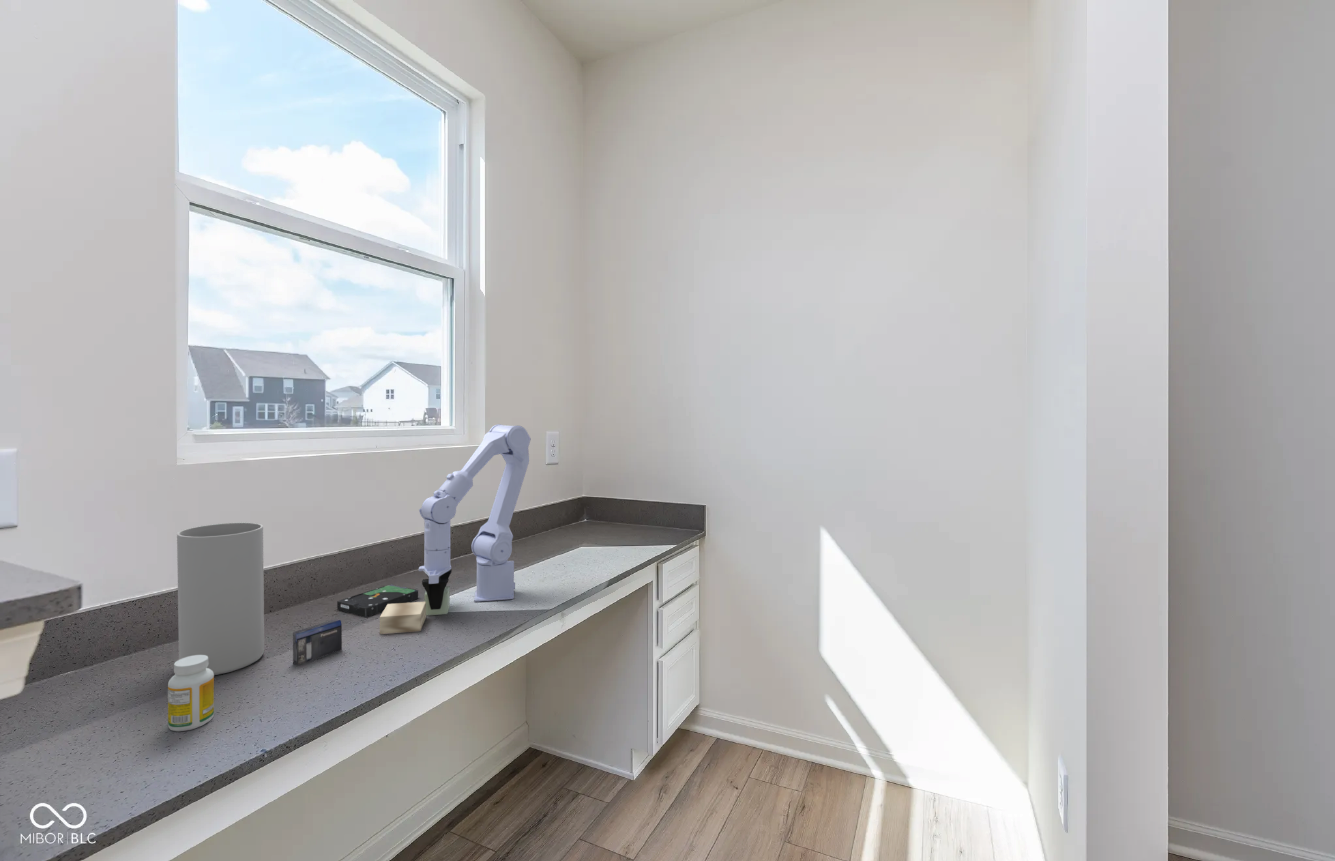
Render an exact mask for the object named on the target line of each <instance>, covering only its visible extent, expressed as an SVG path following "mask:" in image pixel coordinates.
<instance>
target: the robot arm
mask: <svg viewBox="0 0 1335 861" xmlns="http://www.w3.org/2000/svg"><path fill="white" fill-rule="evenodd" d="M530 443H531V436H530V435H529V433H528V430H527V429H526V428H525V427H523V426H521V425H507V424H506V425H505V424H500V423H498V424H495V425H493V426H492V427H491V428H490V429H489V431H487V432H486V433H485V434H484V436H483V439H482V441H481V443H480V444H479V445H478V447H477V448H476V449H475V451H474V452H473V454H472V455H471V456H470V458H469V459H468V461H467V462H466V463H465V464H464V465H463V467H462V468H461V470H454V471H453V472H452V473H448V474H447V475H446V477H445V478H446V479H445V481H444V482H443V483H442V484H441V485H440V486H439V488H438V489H437V490H434V492H433V493H432V494H433V496H432V495H431V496H430V497H427V498H425V500H424V501H423V502H422V504H421V507H420V508H419V509H418V511H419V515H420V517H421V518H423V522H424V527H423V528H424V530H423V533H424V535H423V537H424V544H423V546H424V548H423V550H424V553H423V554H424V556H423V557H424V560H423V561H424V564H423V565H421V566H419V567H418V572H424V573H425V574H426V576H427V578H423V579H422V581H421V586H423V588H424V589H425V592H427V595H428V600H429V605H430V608H431V610H435V609H440V608H441V605H442V600H443V594H444V590H445V587H446V586H447V585H448V583H449V581H450V580H449V577H450V575H451V574H452V571H453V569H452V565H451V520H452V519H453V518H455V516H456V513H457V507H458V505H459V503H460V502H461V501H462V500H463V499H464V497H466V495H467V494H468V492H469V491H470V490H471V489H472V487H473V486H474V482H473V481H474V478H475V477H476V476H477V475H478V473H479V472H481V470H482V469H483V468H484V467H485V466H486V465H487V464H488V462H490V461H491V460H492V459H493V457H494V456H496V455H501V456H502V458H503V460H504V462H505V467H504V470H503V473H502V475H501V479H500V483H499V484H498V488H497V491H496V494H495V498H494V502H493V504H492V507H491V510H490V513H489V518H488V520H487V521H486V522H485V523H484V524H482V525H481V526H480V528H479V530H478V532H477V534H476V535H475V537H474V538H473V540H472V542H471V546H470V547H471V552H472V553H473V555H474V556H475V560H476V590H475V593H474V597H473V601H474V603H475V602H490V601H504V600H505V601H506V600H513V599H514V598H515V596H514V595H515V594H514V592H515V590H516V582H515V561H514V560H509V558H510V557H511V554H512V551H513V544H512V541H513V538H514V535H513V533H512V531H511V528H510V525H511V521H512V519H513V516H514V511H515V509H516V505H517V501H518V498H519V495H520V493H521V490H522V485H523V482H524V480H525V476H526V473H527V471H528V470H527V469H528V467H529V464H530V454H529V447H530Z"/></svg>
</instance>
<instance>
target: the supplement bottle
mask: <svg viewBox="0 0 1335 861" xmlns="http://www.w3.org/2000/svg"><path fill="white" fill-rule="evenodd" d="M208 664H209V663H208V656H206V655H194V656H189V657H185V658H182V659H180V660H179V659H177V660H176V661H175V662H174V664H173V673H174V675H173V676H172V677H170V678H169V680H168V683H167V726H168V729H169V730H171V731H172V732H187V731H190V730H194V729H197V728H200V727H201V726H204V725H206V724H207V723H209V722H210V721H212V720H213V718H214V715H215V694H214V693H215V687H214V686H215V675H214V673H213V671H212V670H211V669H209V668H207V667H208Z"/></svg>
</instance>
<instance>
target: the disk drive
mask: <svg viewBox="0 0 1335 861" xmlns="http://www.w3.org/2000/svg"><path fill="white" fill-rule="evenodd" d="M418 599H419V590H418V589H414V588H411V587H406V586H397V585H394V584H390V585H389V584H388V585H383V586H380V587H377V588H374V589H371V590H369V591H365V592H362V593H358V594H355V595H352V596H349V597H345V598H343V599H339V600H337V602H336V603H337V605H336V608H337V609H336V610H337V611H340V612H343V613H347V614H351V615H355V616H358V617H363V618H368V617H371V616H375V615H377V614H379V613H382V612H383V611H384V609H385V608H386V606H387V604H396V603H411V602H413V601H415V600H418Z"/></svg>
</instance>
